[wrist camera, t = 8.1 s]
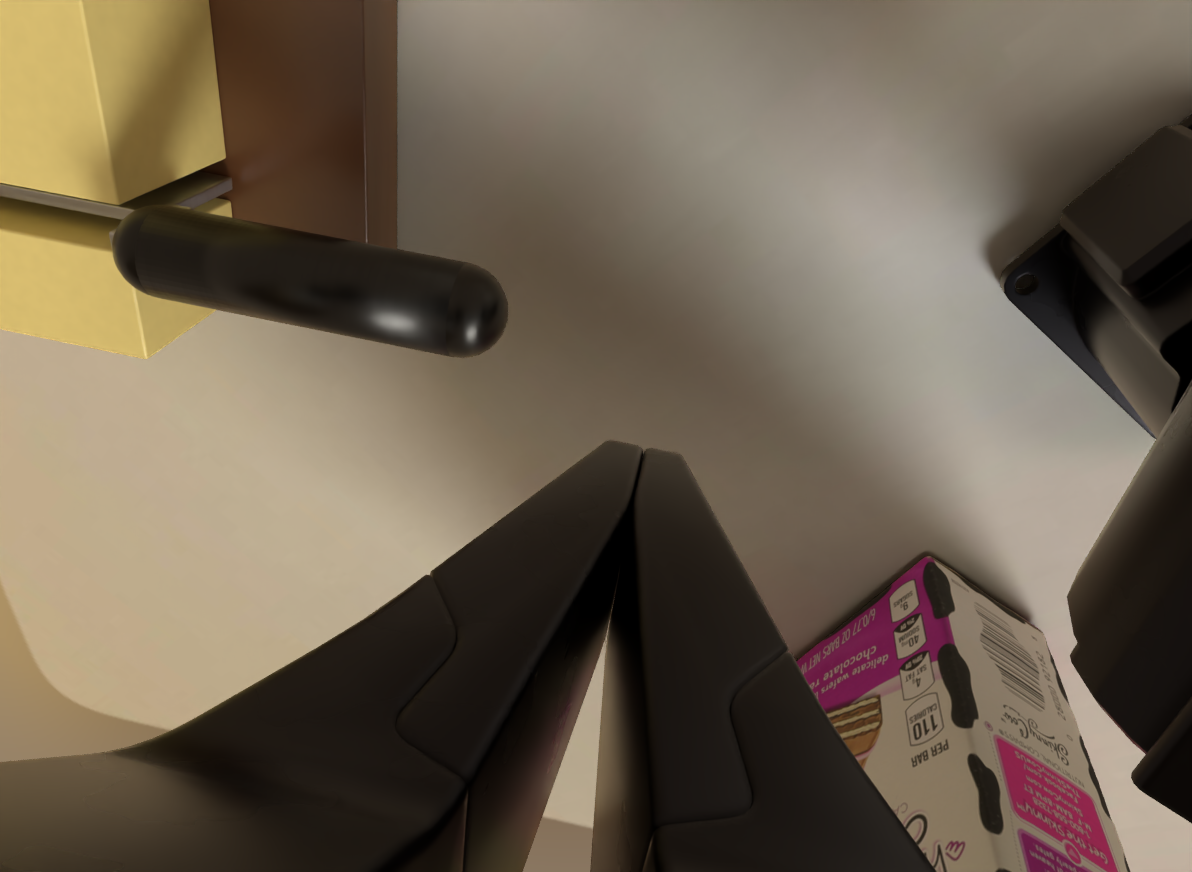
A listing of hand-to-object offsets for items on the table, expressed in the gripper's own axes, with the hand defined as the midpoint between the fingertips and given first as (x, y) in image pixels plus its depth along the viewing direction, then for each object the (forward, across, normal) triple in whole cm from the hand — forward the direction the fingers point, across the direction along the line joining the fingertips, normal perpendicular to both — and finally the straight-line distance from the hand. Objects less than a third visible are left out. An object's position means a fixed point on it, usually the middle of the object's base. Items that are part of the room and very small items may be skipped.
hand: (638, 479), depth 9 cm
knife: (+11, +10, +2) cm, 15 cm away
